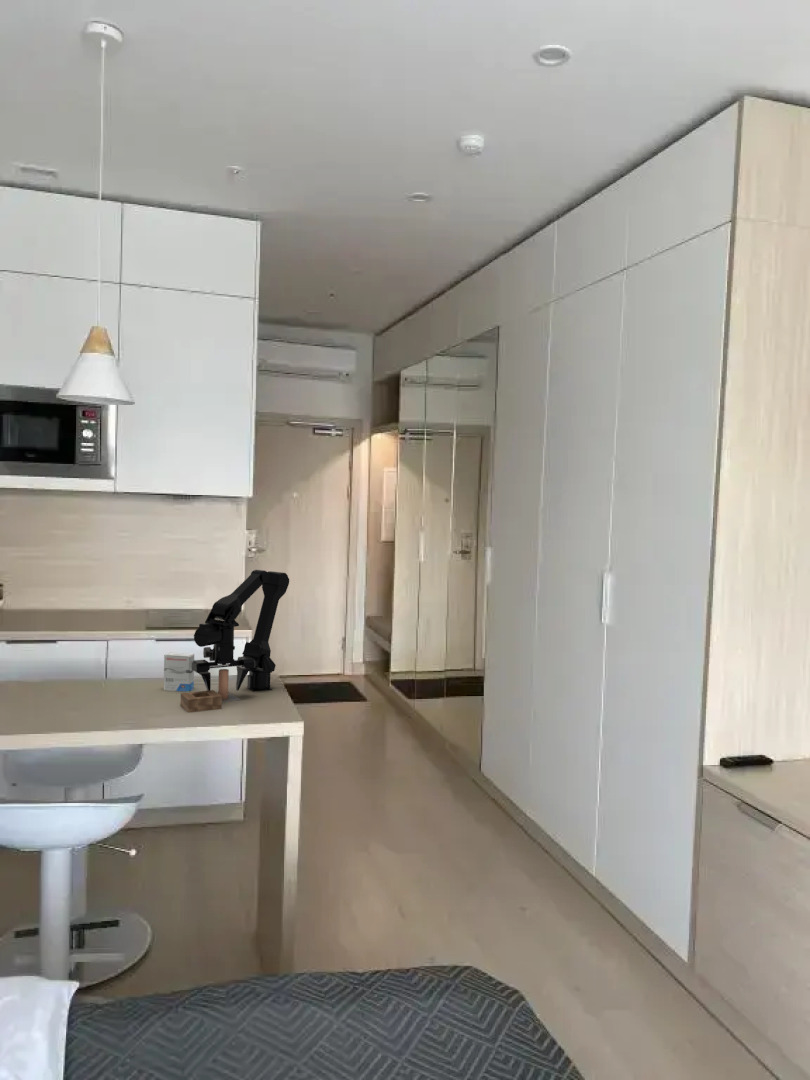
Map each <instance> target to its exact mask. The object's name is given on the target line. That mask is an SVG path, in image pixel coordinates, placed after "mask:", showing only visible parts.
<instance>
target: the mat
mask: <svg viewBox="0 0 810 1080" xmlns="http://www.w3.org/2000/svg"><path fill="white" fill-rule="evenodd" d="M234 701H235V702H236V701H241V699H240V698H239V697H237V696H236V695H234V694H233V693H228V699H227V700H222V703H225V702H234Z"/></svg>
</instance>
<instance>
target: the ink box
mask: <svg viewBox="0 0 810 1080" xmlns="http://www.w3.org/2000/svg"><path fill="white" fill-rule="evenodd" d="M163 659H164V660H163V691H173V692H174V691H175V692H187V691H189V692H192V690H193V689H195V687H194V685H195V684H194V683H195V671H194V670H192V662H193V661H194V660H195V653H186V652H185V653H184V652H173V651H172V652H167V653H166V654H164V656H163Z"/></svg>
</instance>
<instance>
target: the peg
mask: <svg viewBox="0 0 810 1080" xmlns="http://www.w3.org/2000/svg"><path fill="white" fill-rule="evenodd" d="M229 673H230V671H229V669H227V668H221V669H220V668H219V670H218V687H217V688H218V690H217V691H218V692H217V693H218V694H219V695H221V696H222V700H227V699H228V694H229Z"/></svg>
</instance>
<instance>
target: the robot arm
mask: <svg viewBox="0 0 810 1080" xmlns="http://www.w3.org/2000/svg"><path fill="white" fill-rule="evenodd" d="M289 584H290V578H289V575H288V574H287V573H286V572H283V571H282V572H281V571H271V570H270V571H267V570H263V569H255V570H252V571H251V572H250V575H248V577H247V578H246V579H245V580H243V581H242V582H241V584H240V585H238V586H237V587H236V589H234V590H233V592H231V593H230V594H229V595H226V596H223V597H220V598H219V599H218V600H216V601H215V602H214V603H213V605H212V608H211V610H210V612H209V614H208V615H207V618H206V619H205V621H204V623H199V624H198V625H199V627H198V628H196V630H195V631H194V633H193V640H194V643H195V644H196V645H197V646H198V647H200V648H201V647H202V648H203V651H202V652H203V653H202V654H203V658H204V659H194V661H193V662H192V670H194V673H196V674H199V676H201V677H202V679H203V682H204V686H205V688H206V691H209V690H212V689H211V687H212V686H211V684H212V683H211V682H212V681H211V677H212V676H211V672H210V670H211V669H218V668H219V669H220V668H221V669H222V668H230V667H232V668H233V667H236V671H237V673H236V683H235V686H236V687H235V688H236V689H235V690H236V691H239V690H240V689H241V686H242V684H243V681H245V678H246V676H247V684H246V685H247V686H246V688H247V689H248V690H250V691H252V692H263V691H264V692H265V691H272V690H273V688H272V687H271V673H274V672H275V669H276V667H277V666H276V665H277V664H276V663H275V662H274V661H273V659H272V658H271V647H270V643H269V641H270V636H271V633H272V629H273V624H274V621H275V617H276V612H277V609H278V605H279V601H280V599H281V598H282V597H283V596H284V595H285V594H286V592H287V589H288V588H289ZM260 587H261V589H262V593H263V600H262V604H261V608H260V613H259V616H258V620H257V624H256V627H255V631H254V635H253V638H252V640H251V641H249V642H247V641H246V642H245V644H244V649H243V651H242V653H241V654H242V656H238V657H237V659H234V651H235V648H236V646H235V644H234V643H235V642H234V641H235V628H236V627H239V626H240V624H239V622H237V621H236V619H237V618H238V616H239V615H240V613H242V608H243V605H244V604H245V603H246V602H247V601H248V600H249V599H250V598H251V596H253V594H254V593H256V592H257V590H258V589H260ZM212 645H213V649H212V648H211V647H210V646H212ZM208 658H209V659H208ZM206 659H208V660H209V661H207V660H206Z"/></svg>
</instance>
